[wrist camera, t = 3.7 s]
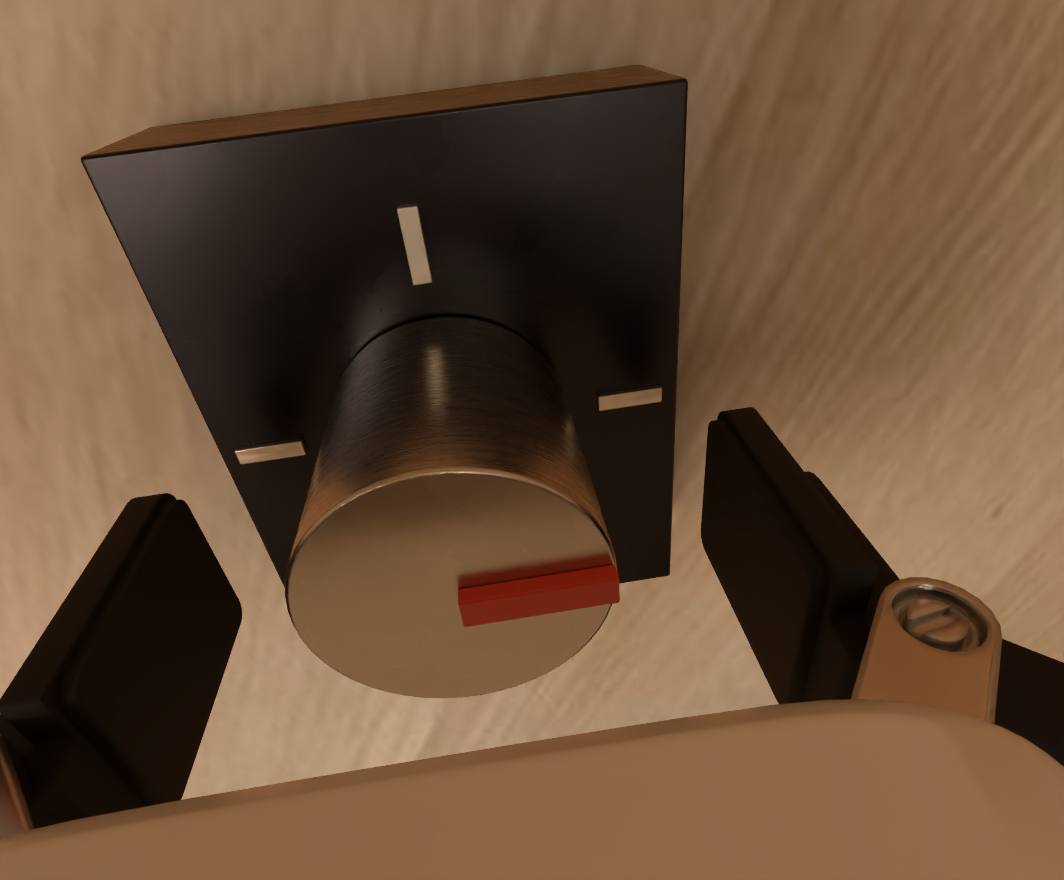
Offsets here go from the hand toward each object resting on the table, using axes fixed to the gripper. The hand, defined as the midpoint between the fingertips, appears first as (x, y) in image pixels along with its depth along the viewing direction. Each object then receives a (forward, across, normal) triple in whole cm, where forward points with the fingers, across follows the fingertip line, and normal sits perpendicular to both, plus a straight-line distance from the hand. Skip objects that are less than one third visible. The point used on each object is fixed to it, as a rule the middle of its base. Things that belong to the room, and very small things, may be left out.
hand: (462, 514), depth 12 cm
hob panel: (+6, 0, 0) cm, 6 cm away
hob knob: (+3, 0, 0) cm, 3 cm away
